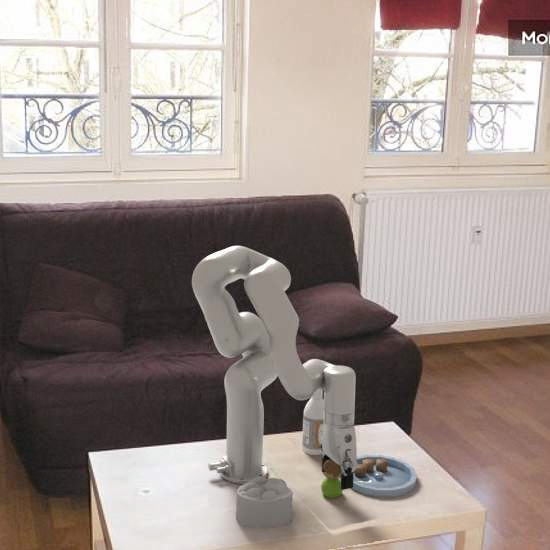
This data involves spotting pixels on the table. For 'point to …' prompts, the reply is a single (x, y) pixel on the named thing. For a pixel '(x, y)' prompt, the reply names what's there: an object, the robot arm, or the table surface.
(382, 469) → the bead
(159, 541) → the table surface
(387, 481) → the tray
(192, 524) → the table surface
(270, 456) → the table surface
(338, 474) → the snail figurine
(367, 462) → the bead
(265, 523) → the lumpy-topped squat cylinder
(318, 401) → the bath foam
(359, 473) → the bead
